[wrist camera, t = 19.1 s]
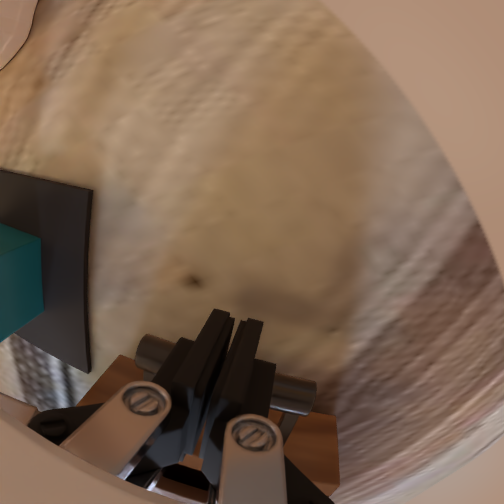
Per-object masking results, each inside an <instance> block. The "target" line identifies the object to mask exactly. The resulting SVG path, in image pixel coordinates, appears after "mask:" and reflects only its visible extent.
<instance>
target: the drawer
mask: <svg viewBox="0 0 504 504" xmlns="http://www.w3.org/2000/svg"><path fill="white" fill-rule="evenodd" d="M175 345H176V343H173V342H170V341H167V340H164V339H162V338H159V337H156V336H153V335H150V334H146V335H145V336H144V337H143V338H142V339H141V341H140V343H139V345H138V348H137V351H136V356H135V360H133V359H131V358H128V357H126V356H123V355H119V356H118V357H117V359H116V360H115V361H114V362H113V363H112V364H111V365H110V367H109V368H108V369H107V370H106V371H105V372H104V374H103V375H102V376H101V377H100V378H99V379H98V381H97V382H96V383H95V384H94V385H93V386H92V388H91V389H90V390H89V391H88V392H87V393H86V395H85V396H84V397H83V398H82V399H81V401H80V402H79V403H78V404H77V405H76V407H77V406H85V405H92V404H98V403H105V402H106V401H107V400H109V399H110V398H111V397H112V396H113V395H114V394H115V393H116V392H117V391H118V390H119V389H120V388H121V387H123V386H124V385H126V384H127V383H131V382H134V381H148V382H151V381H152V379H153V378H154V376H155V375H156V373H157V372H158V370H159V369H160V367H161V366H162V364H163V363H164V361H165V360H166V358H167V357H168V355H169V354H170V352H171V351H172V349H173V348H174V346H175ZM316 391H317V385H316V382H315V381H311V380H306V379H302V378H297V377H293V376H289V375H284V374H280V373H276V372H275V377H274V384H273V390H272V396H271V402H270V408H269V414H268V419H269V420H271V421H272V422H273V423H275V424H276V425H277V426H278V428H279V429H280V431H281V434H282V437H283V450H284V455H285V456H286V457H287V458H288V459H289V460H290V461H291V462H292V463H293V464H294V465H295V466H296V467H297V468H298V469H299V470H300V471H301V472H302V473H303V474H304V475H305V476H306V477H307V478H308V479H309V480H310V481H311V482H312V483H314V484H315V485H316V486H317V487H318V488H319V489H320V490H321V491H322V492H323V493H324V494H325V495H326V496H331V494H332V493H333V492H334V491H335V490H336V489H337V488H338V487H339V485H340V475H339V454H338V438H337V423H336V416H333V415H327V414H322V413H316V412H311V410H312V407H313V405H314V401H315V397H316ZM205 424H206V421H205ZM205 424H204V427H203V429H202V432H201V434H200V437H199V440H198V442H197V445H196V447H195V450H194V452H193V455H189V454H186V455H185V457H184V460H183V462H181V461H179V462H178V463H175V464H172V465H168V466H167V468H166V470H165V472H164V474H163V475H162V477H165V478H168V479H171V480H174V481H177V482H180V483H183V484H186V485H189V486H192V487H196V488H199V489H202V490H206V491H208V489H209V484H210V482H209V480H208V479H207V478H206V476H205V475H204V473H203V472H202V471H201V468H202V463H203V459H201V458H199V453H200V448H201V443H202V438H203V434H204V429H205Z"/></svg>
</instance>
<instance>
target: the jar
mask: <svg viewBox="0 0 504 504" xmlns="http://www.w3.org/2000/svg"><path fill="white" fill-rule="evenodd" d="M37 2H38V0H0V70H1V69H2V68H3V67H4V66H5V65H6V64H7V63H8V62H9V61H10V60H11V59H12V58H13V56H14V55H15V54H16V53H17V52H18V50H19V49H20V48H21V46H22V45H23V44H24V42H25V41H26V39H27V37H28V34H29V31H30V28H31V26H32V19H33V15H34V11H35V8H36V5H37Z"/></svg>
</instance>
